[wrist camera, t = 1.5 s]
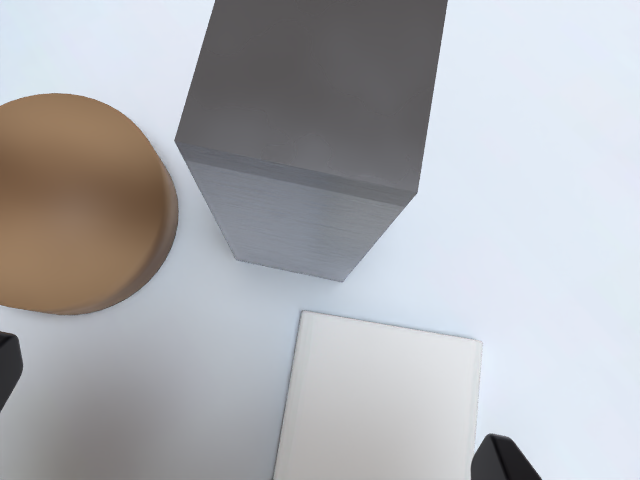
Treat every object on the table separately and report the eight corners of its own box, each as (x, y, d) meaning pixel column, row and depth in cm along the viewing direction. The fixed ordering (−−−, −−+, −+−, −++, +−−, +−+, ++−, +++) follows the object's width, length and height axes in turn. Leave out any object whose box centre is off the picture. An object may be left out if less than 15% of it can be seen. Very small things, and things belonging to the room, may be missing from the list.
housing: (342, 282, 22) (417, 192, 10) (236, 260, 22) (174, 141, 10) (361, 182, 24) (449, -12, 11) (260, 160, 24) (233, -61, 11)
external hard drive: (471, 342, 23) (445, 646, 20) (300, 312, 23) (248, 616, 20) (485, 341, 21) (459, 671, 18) (302, 309, 21) (245, 640, 18)
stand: (147, 333, 21) (126, 330, 18) (-57, 292, 21) (-112, 282, 18) (199, 147, 23) (187, 118, 20) (14, 108, 23) (-25, 72, 20)
